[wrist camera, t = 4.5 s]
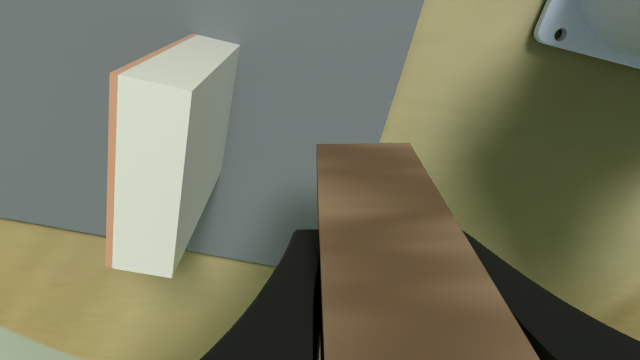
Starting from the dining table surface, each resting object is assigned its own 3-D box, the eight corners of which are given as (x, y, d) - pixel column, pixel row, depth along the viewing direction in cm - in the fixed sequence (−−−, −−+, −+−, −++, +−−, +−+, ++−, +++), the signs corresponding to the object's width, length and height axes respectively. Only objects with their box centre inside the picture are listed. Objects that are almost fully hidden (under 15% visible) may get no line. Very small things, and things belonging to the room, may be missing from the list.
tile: (240, 45, 18) (192, 90, 11) (221, 171, 20) (171, 278, 13) (192, 33, 17) (109, 72, 10) (179, 162, 20) (105, 267, 13)
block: (409, 142, 14) (556, 387, 5) (401, 222, 15) (512, 515, 7) (316, 143, 14) (326, 392, 5) (317, 223, 15) (325, 520, 7)
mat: (434, -42, 17) (437, -42, 16) (335, 272, 24) (336, 277, 23) (-177, -213, 14) (-190, -218, 14) (-93, 196, 21) (-100, 199, 21)
